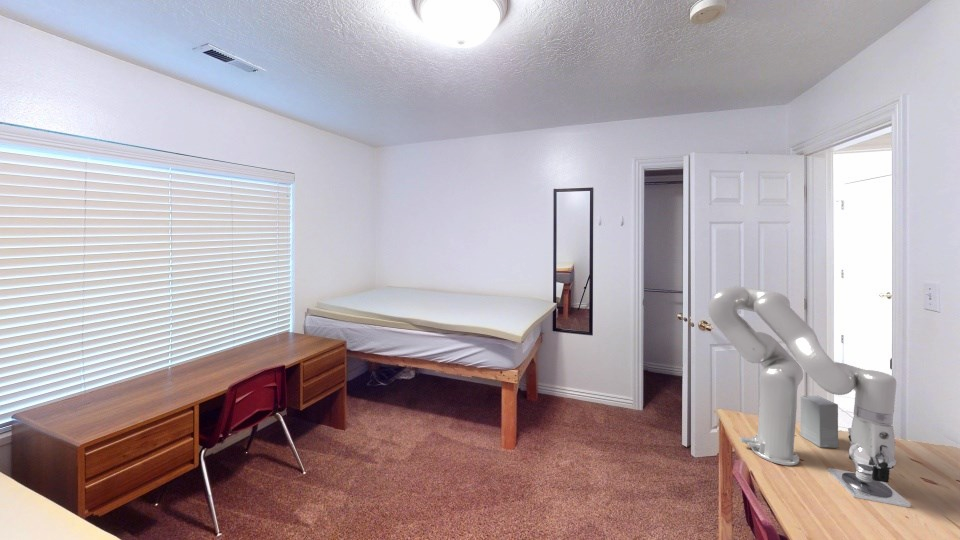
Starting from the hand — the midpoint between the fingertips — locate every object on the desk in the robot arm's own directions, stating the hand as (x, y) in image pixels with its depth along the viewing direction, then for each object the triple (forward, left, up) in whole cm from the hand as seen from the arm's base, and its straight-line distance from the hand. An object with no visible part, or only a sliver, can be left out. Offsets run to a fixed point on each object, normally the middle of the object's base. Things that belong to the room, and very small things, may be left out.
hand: (867, 470), depth 103 cm
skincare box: (0, +26, -6) cm, 26 cm away
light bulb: (0, +1, -4) cm, 4 cm away
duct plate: (0, 0, -6) cm, 6 cm away
